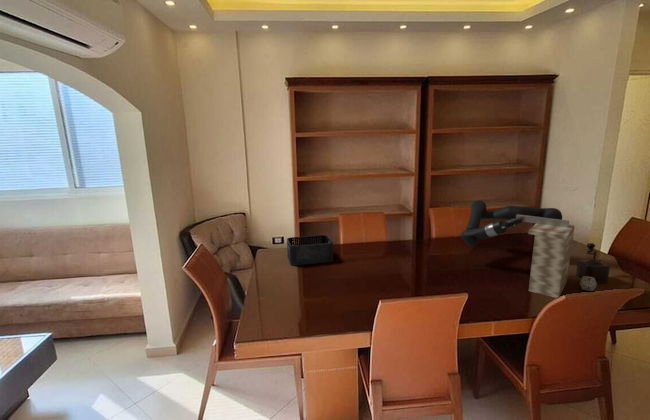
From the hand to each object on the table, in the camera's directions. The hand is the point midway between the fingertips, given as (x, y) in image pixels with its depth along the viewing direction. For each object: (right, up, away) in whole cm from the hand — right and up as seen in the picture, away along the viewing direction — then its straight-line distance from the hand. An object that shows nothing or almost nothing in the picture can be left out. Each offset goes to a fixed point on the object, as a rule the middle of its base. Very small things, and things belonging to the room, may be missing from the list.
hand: (523, 218), depth 191 cm
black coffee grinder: (+37, -33, +2) cm, 50 cm away
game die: (+25, -37, -13) cm, 46 cm away
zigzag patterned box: (+7, -35, -7) cm, 37 cm away
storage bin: (-119, -28, +41) cm, 129 cm away
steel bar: (+6, -2, -5) cm, 9 cm away
